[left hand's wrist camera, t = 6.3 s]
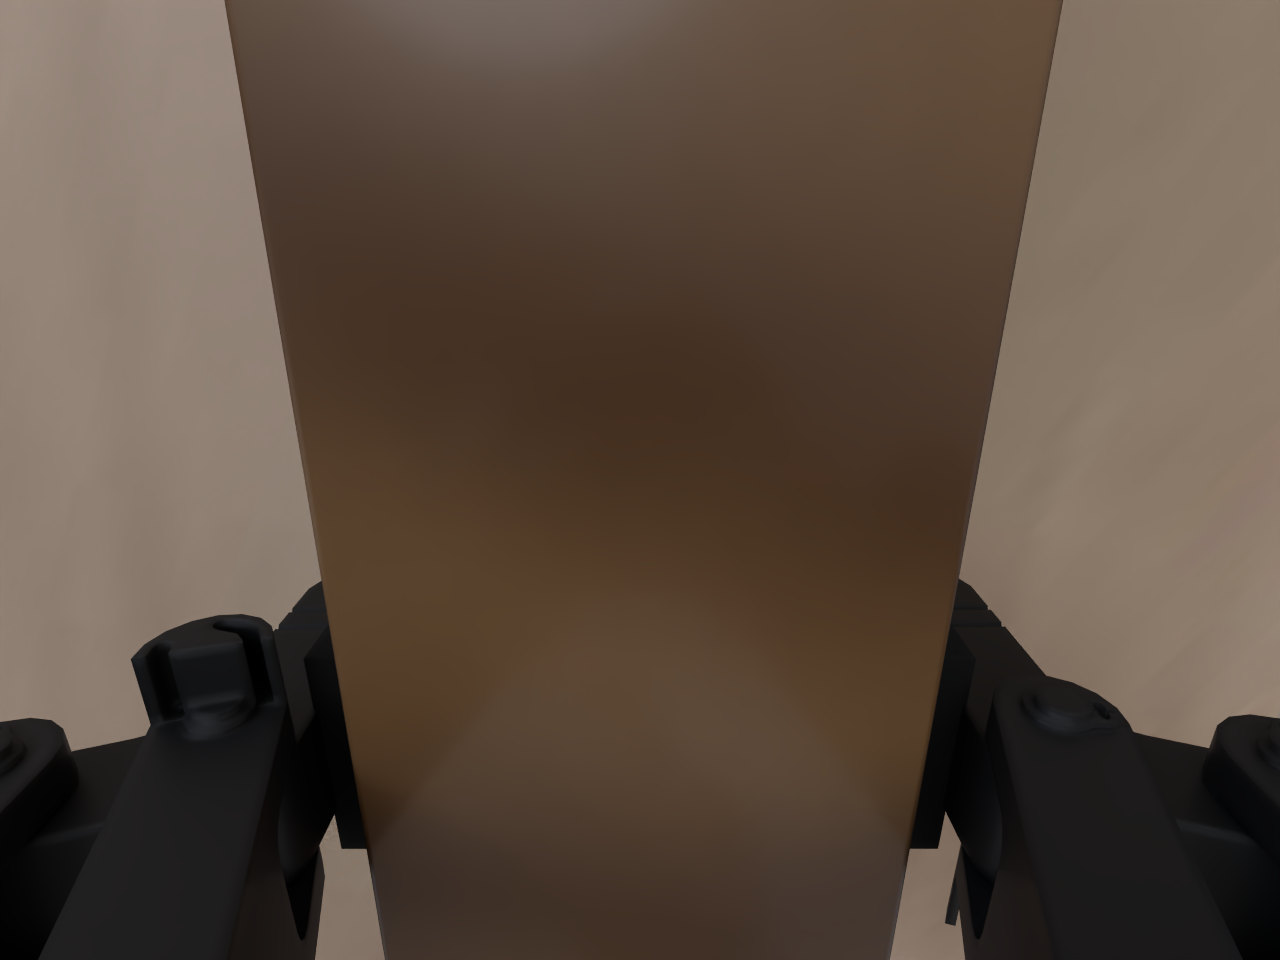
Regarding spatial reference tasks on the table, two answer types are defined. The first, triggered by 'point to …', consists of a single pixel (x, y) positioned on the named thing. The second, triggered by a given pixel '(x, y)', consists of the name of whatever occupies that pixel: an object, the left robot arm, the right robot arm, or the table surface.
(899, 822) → the bar
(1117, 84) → the table surface
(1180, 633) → the table surface
